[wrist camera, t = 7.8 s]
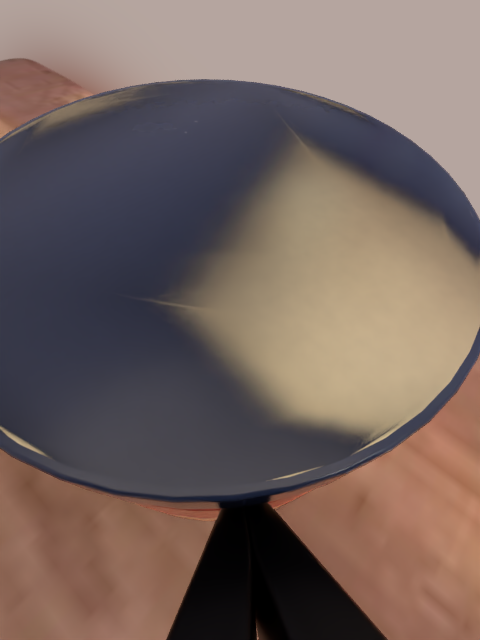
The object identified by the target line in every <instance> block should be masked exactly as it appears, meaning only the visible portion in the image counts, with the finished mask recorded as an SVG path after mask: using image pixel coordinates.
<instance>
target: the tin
mask: <svg viewBox="0 0 480 640" xmlns="http://www.w3.org/2000/svg"><path fill="white" fill-rule="evenodd" d="M479 354H480V220H479V218H478V215H477V214H476V212H475V210H474V208H473V207H472V205H471V203H470V202H469V200H468V198H467V197H466V195H465V193H464V192H463V191H462V190H461V188H460V187H459V186H458V185H457V183H456V182H455V181H454V180H453V178H452V177H451V176H450V175H449V173H448V172H446V170H445V169H444V168H443V167H442V166H441V165H440V164H439V163H438V162H437V161H435V160H434V159H433V158H432V157H431V156H430V155H429V154H428V153H427V152H425V151H424V150H423V149H422V148H420V147H419V146H418V145H417V144H415V143H414V142H413V141H412V140H410V139H408V138H407V137H405V136H404V135H402V134H401V133H399V132H398V131H396V130H395V129H393V128H392V127H390V126H388V125H386V124H384V123H382V122H381V121H379V120H377V119H375V118H373V117H371V116H370V115H367V114H365V113H363V112H361V111H358V110H356V109H354V108H352V107H349V106H347V105H344V104H341V103H338V102H335V101H333V100H330V99H327V98H324V97H321V96H317V95H314V94H310V93H307V92H303V91H299V90H294V89H290V88H285V87H281V86H276V85H268V84H262V83H254V82H245V81H234V80H207V79H201V80H177V81H167V82H156V83H149V84H142V85H136V86H130V87H125V88H121V89H116V90H112V91H107V92H103V93H100V94H97V95H93V96H90V97H86V98H83V99H80V100H77V101H74V102H72V103H69V104H66V105H64V106H61V107H58V108H56V109H53V110H51V111H49V112H47V113H45V114H43V115H40V116H38V117H36V118H34V119H32V120H30V121H28V122H27V123H25V124H23V125H21V126H19V127H18V128H16V129H14V130H12V131H11V132H9V133H7V134H6V135H4V136H3V137H2V138H0V449H1V450H3V451H4V452H6V453H7V454H8V455H10V456H11V457H13V458H15V459H17V460H19V461H21V462H23V463H25V464H28V465H30V466H32V467H34V468H36V469H38V470H40V471H42V472H44V473H47V474H49V475H51V476H53V477H55V478H57V479H59V480H62V481H64V482H67V483H70V484H72V485H75V486H78V487H80V488H83V489H86V490H89V491H93V492H96V493H100V494H103V495H107V496H110V497H114V498H117V499H121V500H124V501H127V502H131V503H136V504H138V505H140V506H143V507H146V508H149V509H153V510H156V511H159V512H162V513H166V514H169V515H173V516H176V517H180V518H186V519H194V520H202V521H216V519H217V517H218V514H219V512H220V510H221V508H237V507H243V506H249V505H254V504H260V503H266V502H268V503H269V504H270V505H271V506H272V508H273V509H276V508H278V507H280V506H282V505H284V504H286V503H288V502H290V501H292V500H294V499H296V498H298V497H300V496H302V495H304V494H306V493H308V492H310V491H312V490H313V489H315V488H318V487H321V486H324V485H327V484H329V483H331V482H333V481H335V480H337V479H339V478H341V477H343V476H345V475H347V474H349V473H351V472H353V471H354V470H356V469H358V468H360V467H362V466H364V465H366V464H368V463H370V462H372V461H373V460H375V459H377V458H379V457H381V456H382V455H384V454H386V453H388V452H390V451H391V450H393V449H394V448H395V447H397V446H398V445H399V444H401V443H402V442H403V441H405V440H406V439H407V438H409V437H410V436H411V435H413V434H414V433H415V432H417V431H418V430H419V429H421V428H422V427H423V426H425V425H426V424H427V423H429V422H430V421H431V420H432V418H433V417H434V416H435V415H436V414H437V413H438V412H439V411H440V410H441V409H442V408H443V407H444V406H445V404H446V403H447V402H448V401H449V400H450V399H451V398H452V397H453V396H454V395H455V394H456V393H457V391H458V390H459V388H460V387H461V385H462V383H463V382H464V380H465V379H466V377H467V375H468V374H469V372H470V371H471V369H472V367H473V366H474V364H475V363H476V361H477V359H478V356H479Z"/></svg>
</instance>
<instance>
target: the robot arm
mask: <svg viewBox="0 0 480 640" xmlns="http://www.w3.org/2000/svg"><path fill="white" fill-rule="evenodd" d="M256 625H257V631H256ZM257 632H258V637H259V640H388V639H387V638H386V637H385V636H384V635H383V634H382V632H381V631H380V630H379V629H378V628H377V627H376V626H375V624H374V623H373V622H372V621H371V620H370V619H369V618H368V616H367V615H366V614H365V613H364V612H363V611H362V610H361V608H360V607H359V606H358V605H357V604H356V603H355V602H354V600H353V599H352V598H351V597H350V596H349V595H348V593H347V592H346V591H345V590H344V589H343V588H342V587H341V585H340V584H339V583H338V582H337V581H336V580H335V579H334V577H333V576H332V575H331V574H330V573H329V572H328V571H327V569H326V568H325V567H324V566H323V565H322V564H321V563H320V561H319V560H318V559H317V558H316V557H315V556H314V555H313V553H312V552H311V551H310V550H309V549H308V548H307V547H306V545H305V544H304V543H303V542H302V541H301V540H300V538H299V537H298V536H297V535H296V534H295V533H294V532H293V530H292V529H291V528H290V527H289V526H288V525H287V524H286V522H285V521H284V520H283V519H282V518H281V517H280V516H279V514H278V513H277V512H276V511H275V510H274V509H273V508H272V506H271V505H270V504H269V503H268V502H266V503H260V504H254V505H249V506H243V507H237V508H221V510H220V512H219V514H218V517H217V519H216V522H215V524H214V526H213V529H212V531H211V534H210V536H209V538H208V541H207V543H206V545H205V548H204V550H203V553H202V555H201V557H200V560H199V562H198V565H197V567H196V569H195V572H194V574H193V577H192V579H191V581H190V584H189V586H188V589H187V591H186V593H185V596H184V598H183V601H182V603H181V605H180V608H179V610H178V613H177V615H176V617H175V620H174V622H173V625H172V627H171V629H170V632H169V634H168V637H167V639H166V640H257Z"/></svg>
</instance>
